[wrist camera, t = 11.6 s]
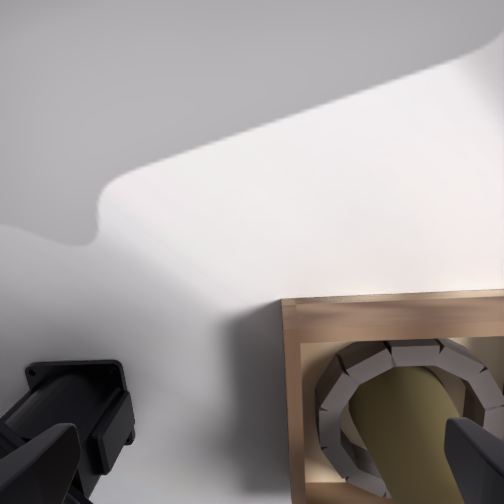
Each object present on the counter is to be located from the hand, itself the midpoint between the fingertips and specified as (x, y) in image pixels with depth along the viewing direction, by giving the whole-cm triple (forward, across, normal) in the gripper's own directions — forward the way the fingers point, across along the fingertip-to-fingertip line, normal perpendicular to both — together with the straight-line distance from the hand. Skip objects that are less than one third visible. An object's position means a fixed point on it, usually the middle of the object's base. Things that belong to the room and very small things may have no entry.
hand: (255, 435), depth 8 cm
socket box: (+13, -8, +9) cm, 18 cm away
